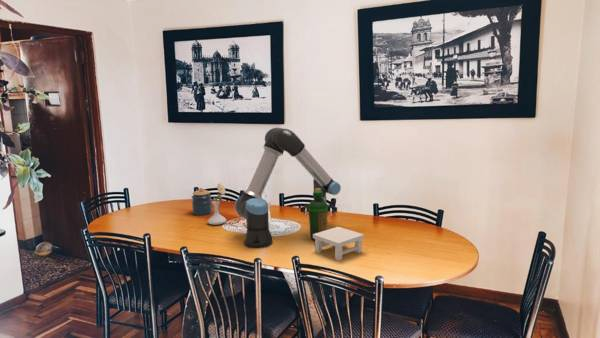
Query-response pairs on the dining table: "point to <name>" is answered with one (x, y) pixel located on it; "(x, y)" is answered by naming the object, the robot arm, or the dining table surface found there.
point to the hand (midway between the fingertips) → (318, 213)
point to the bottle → (317, 213)
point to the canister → (201, 202)
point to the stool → (338, 240)
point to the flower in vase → (217, 217)
